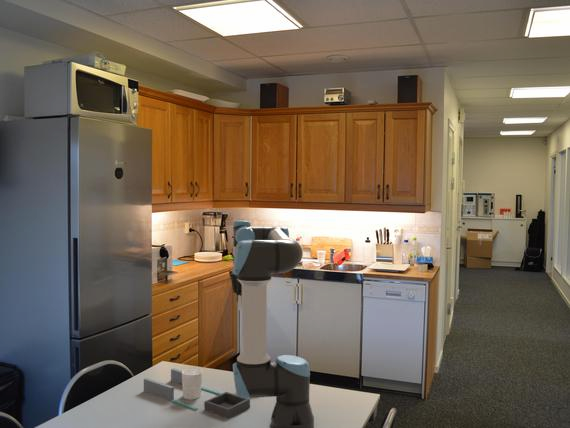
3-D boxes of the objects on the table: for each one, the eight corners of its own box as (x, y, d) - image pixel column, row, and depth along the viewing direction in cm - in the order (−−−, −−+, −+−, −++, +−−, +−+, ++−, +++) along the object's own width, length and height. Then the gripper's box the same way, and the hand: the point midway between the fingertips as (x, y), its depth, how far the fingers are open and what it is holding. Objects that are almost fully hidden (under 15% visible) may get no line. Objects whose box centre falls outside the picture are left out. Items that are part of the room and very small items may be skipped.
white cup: (180, 394, 211) (180, 369, 210) (199, 391, 214) (199, 367, 213) (183, 401, 204) (183, 376, 203) (203, 398, 206) (203, 373, 206)
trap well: (249, 406, 199) (249, 399, 199) (228, 417, 189) (228, 409, 189) (226, 399, 206) (226, 391, 206) (204, 409, 196) (204, 401, 196)
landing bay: (226, 396, 209) (226, 394, 209) (195, 410, 196) (195, 408, 196) (203, 388, 217) (203, 387, 217) (171, 401, 203) (171, 400, 203)
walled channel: (200, 388, 217) (200, 376, 217) (170, 400, 204) (170, 388, 204) (173, 379, 226) (173, 368, 226) (143, 391, 213) (143, 378, 213)
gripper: (258, 256, 228) (258, 310, 230) (236, 253, 236) (235, 306, 237) (247, 258, 222) (247, 313, 224) (224, 255, 230) (224, 309, 231)
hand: (241, 309), depth 230 cm, fingers closed
